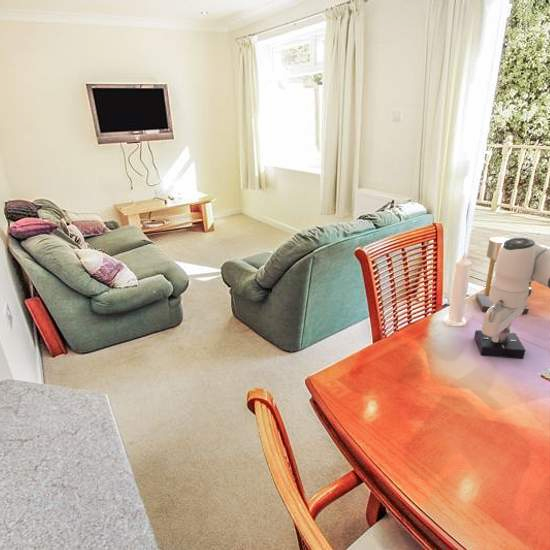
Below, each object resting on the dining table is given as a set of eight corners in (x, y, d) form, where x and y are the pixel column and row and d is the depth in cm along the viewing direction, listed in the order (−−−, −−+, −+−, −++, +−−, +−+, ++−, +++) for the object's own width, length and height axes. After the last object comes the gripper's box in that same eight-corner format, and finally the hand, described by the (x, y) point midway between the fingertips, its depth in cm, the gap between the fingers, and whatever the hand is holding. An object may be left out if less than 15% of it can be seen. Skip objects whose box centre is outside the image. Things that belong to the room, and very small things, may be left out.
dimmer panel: (513, 341, 114) (515, 332, 113) (523, 359, 106) (525, 349, 105) (474, 338, 117) (475, 329, 116) (480, 355, 109) (482, 346, 108)
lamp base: (520, 301, 136) (522, 291, 134) (529, 314, 127) (532, 304, 126) (475, 298, 140) (477, 289, 138) (481, 312, 131) (483, 301, 129)
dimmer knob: (490, 334, 113) (492, 323, 112) (506, 336, 112) (509, 325, 110) (491, 342, 110) (493, 331, 108) (509, 344, 108) (511, 333, 106)
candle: (455, 329, 122) (466, 258, 112) (438, 319, 128) (447, 251, 118) (471, 323, 125) (483, 253, 115) (454, 314, 131) (463, 247, 121)
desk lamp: (497, 292, 135) (508, 236, 126) (502, 300, 129) (514, 243, 121) (478, 291, 137) (487, 236, 128) (482, 299, 131) (492, 242, 122)
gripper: (504, 312, 97) (495, 356, 102) (534, 287, 108) (525, 327, 114) (479, 304, 101) (472, 347, 107) (511, 280, 113) (502, 320, 118)
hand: (499, 337), depth 110 cm, fingers closed on dimmer knob, 4 cm apart
